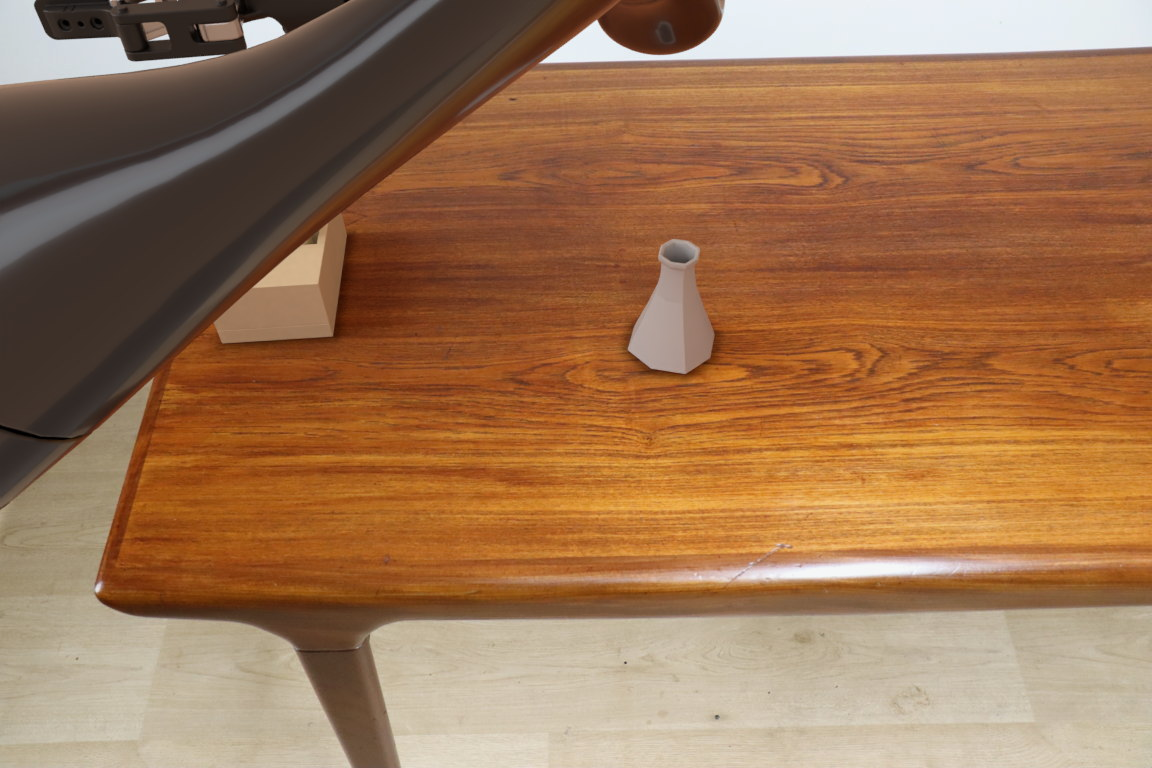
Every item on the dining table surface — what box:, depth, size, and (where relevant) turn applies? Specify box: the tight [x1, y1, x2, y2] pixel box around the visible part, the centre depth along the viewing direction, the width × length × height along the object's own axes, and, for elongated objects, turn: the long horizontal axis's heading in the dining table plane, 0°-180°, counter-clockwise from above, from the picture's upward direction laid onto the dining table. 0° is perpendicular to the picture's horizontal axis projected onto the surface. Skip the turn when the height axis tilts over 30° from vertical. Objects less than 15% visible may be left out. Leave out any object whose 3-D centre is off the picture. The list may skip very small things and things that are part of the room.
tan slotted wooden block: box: [213, 212, 348, 344], centre depth 84 cm, size 15×9×6 cm, turn 5°
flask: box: [627, 238, 716, 375], centre depth 76 cm, size 7×7×10 cm
